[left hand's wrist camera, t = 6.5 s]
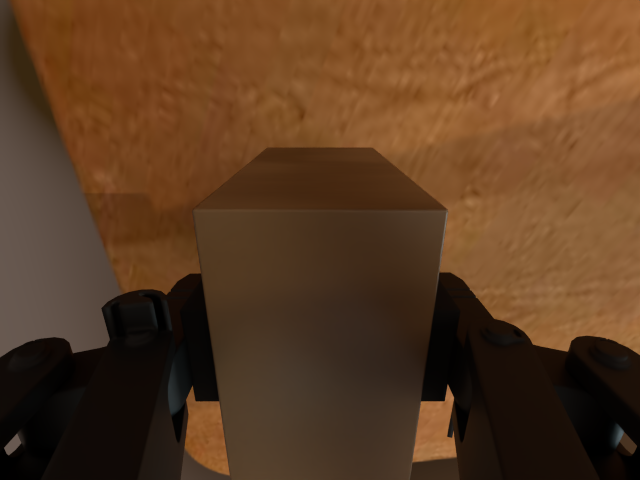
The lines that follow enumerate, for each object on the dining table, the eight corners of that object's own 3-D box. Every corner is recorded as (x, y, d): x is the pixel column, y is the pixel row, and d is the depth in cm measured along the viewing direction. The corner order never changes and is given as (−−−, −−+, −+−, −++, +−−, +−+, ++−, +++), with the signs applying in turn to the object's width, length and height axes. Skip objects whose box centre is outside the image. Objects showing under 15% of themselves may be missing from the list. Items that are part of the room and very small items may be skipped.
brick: (275, 294, 18) (230, 483, 9) (266, 147, 16) (191, 209, 6) (365, 294, 18) (410, 483, 9) (373, 147, 16) (449, 209, 6)
